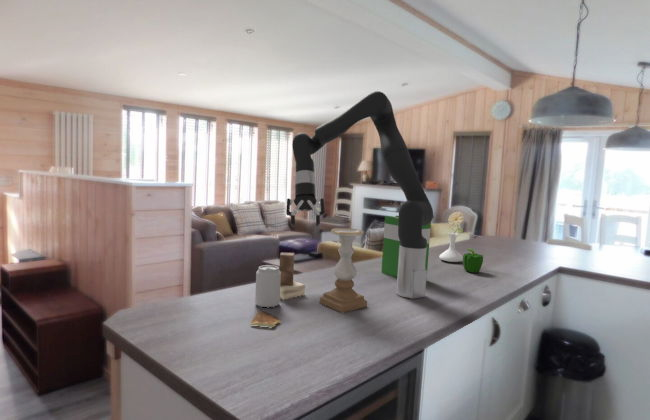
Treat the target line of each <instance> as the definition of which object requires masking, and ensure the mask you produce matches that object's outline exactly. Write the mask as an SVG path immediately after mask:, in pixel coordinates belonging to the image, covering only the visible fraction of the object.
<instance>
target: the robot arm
mask: <svg viewBox="0 0 650 420" xmlns="http://www.w3.org/2000/svg"><path fill="white" fill-rule="evenodd" d="M366 118H370V119H371V121H372V123H373V124H374V126H375V129H376V131H377V133H378V136H379V142H380V151H381V155H382V159H383V161H384V164H385V167H386V170H387V172H388V173H389V175H390V177H391V178H392V179H393V180H394V181H395V183H396V184H397V185H398V186H399V188H400V189H401V190H402V192H403V195H404V197H405V199H406V201H404V202H403V203H402V204H401V205H400V208H399V210H398V215H397V216H398V237H399V240H400V248H399V261H398V275H397V277H396V294H397V295H398V296H399V297H403V298H409V299H411V300H413V299H420V298H426V289H427V288H426V287H427V280H426V278H427V277H428V269H427V270H425V262H426V249H427V240H426V238H424V237H423V236H422V226H425V225H428V224H429V223H430V222H431V223H432V221H433V218H434V209H433V206H432V204H431V202H430V200H429V198H428V196H427V194H426V192H425V190H424V188H423V186H422V183H421V182H420V179H419V176H418V173H417V170H416V168H415V166H414V163H413V159H412V156H411V154H410V151H409V149H408V146H407V144H406V142H405V140H404V138H403V136H402V134H401V132H400V130H399V128H398V125H397V121H396V118H395V115H394V109H393V106H392V103H391V101H390V100H389V98H388V96H387V95H386V94H385V93H384V92H383V91H378V90H377V91H372V92H370V93H368V94H367V95H365V96H364V97H362V99H360V100H359V101H358V102H357V103H355V104H353V105H352V106H350V108H348V109H346V111H343V113H341V114H338V116H336V117H334V118H332V119H330V120H328V121H326V122H325V123H323V124H320V125H319V126H317V127H316V128H315V129H314V135H313V136H309V135H308V134H307V133H305V132H298V133H297V134H295V135H294V136H293V140H292V143H291V145H292V147H291V148H292V152H293V157H294V161H295V178H294V186H295V187H294V189H295V190H294V192H295V193H294V194H295V195H294V196H295V197H294V199H291V198H287V199H286V212H285V213H286V216H289V217H290V221H291V222H290V224H291V226H293V228H294V227H295V226H296V214H298V213H299V211H300V212H310V211H312V213H313V214H314V215H315V227H317V228H318V227H319V226H320V224H321V216H324V215H325V213H326V212H325V201H324V198H320V199H317V198H316V177H315V162H314V159H313V158H312V155H314V154H316V153H317V152H318V151H319V150H320V149H321V148H323V147H324V146H325V145H326V144H328V143H330V142H332V141H334V140H336V139H338V138H339V137H341V136H343V135H344V134H345V133H346V132H347V131H348V130H349V129H351V127H353V126H354V125H355V124H357V123H358V122H360V121H362V120H364V119H366ZM293 204H294V205H295V207H294V209H293V210H292V211H291V206H293ZM316 204H317V205H319V206H320V211H318V209H317V208H316Z"/></svg>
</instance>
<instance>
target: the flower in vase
mask: <svg viewBox="0 0 650 420" xmlns="http://www.w3.org/2000/svg"><path fill="white" fill-rule="evenodd" d="M464 221H465V214H464V213H462V212H461V211H455V212H452V214H450V215H449V217H448V224H449V226H448V227H449V228H450V229H451V230H453V231H454V232H447V234H448V237H449V248H447V249H446V250H445V251H443V252H442V253H440V254H439V255H438V256H439V259H440V260H442V261H445V262H449V263H460V262H463V256H462V255H461V254H460V252H458V251H457V250H456V246H455V245H456V239H457V237H458V236H459V234H460V233H461V234H462V233H464V230H463V227H459V226H460V225H461V224H463V222H464ZM456 226H457V228H456V229H454V228H453V227H456ZM456 232H458V233H456Z"/></svg>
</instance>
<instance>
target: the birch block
mask: <svg viewBox="0 0 650 420" xmlns="http://www.w3.org/2000/svg"><path fill="white" fill-rule="evenodd" d="M305 293H306V284H305V283H301V282H298V281H296V280H293V285H280V300H282V299H283V300H282V301H285V300H284V299H286V300H289V299H288V298H290V299H294V298H293V297H295V298H298V297H297V296H299V297H302V296H301V295H303V296H305Z"/></svg>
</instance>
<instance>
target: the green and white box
mask: <svg viewBox="0 0 650 420" xmlns="http://www.w3.org/2000/svg"><path fill="white" fill-rule="evenodd" d="M398 216H399V215H395V217H394V216H388V215H385V216H384V227H383V229H384V230H383V244H382V255H381V257H382V260H381V272H380V273H382V274H385V275H386V276H387V275H388V276H391V277H395V278H397V275H398V261H399V248H400V240H399V237H398ZM431 228H432V221H431V222H430V223H429V224H428V225H425V226H422V236H423V237H424V238H426V240H427V249H426V262H425V270H427V271H428V266H429V264H428V263H429V253H430V252H429V251H430V241H431V239H430V237H431V230H432V229H431ZM426 281H427V278H426Z"/></svg>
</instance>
